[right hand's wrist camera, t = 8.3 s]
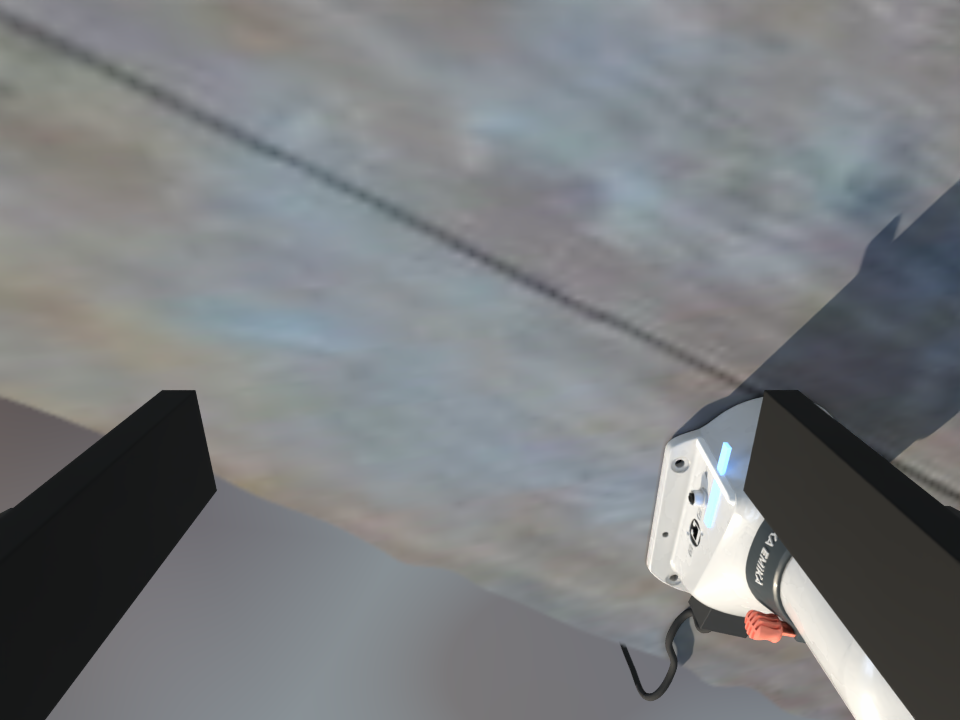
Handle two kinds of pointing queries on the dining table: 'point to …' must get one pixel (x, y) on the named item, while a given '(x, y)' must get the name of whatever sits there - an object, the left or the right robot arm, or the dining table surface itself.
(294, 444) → the dining table surface
